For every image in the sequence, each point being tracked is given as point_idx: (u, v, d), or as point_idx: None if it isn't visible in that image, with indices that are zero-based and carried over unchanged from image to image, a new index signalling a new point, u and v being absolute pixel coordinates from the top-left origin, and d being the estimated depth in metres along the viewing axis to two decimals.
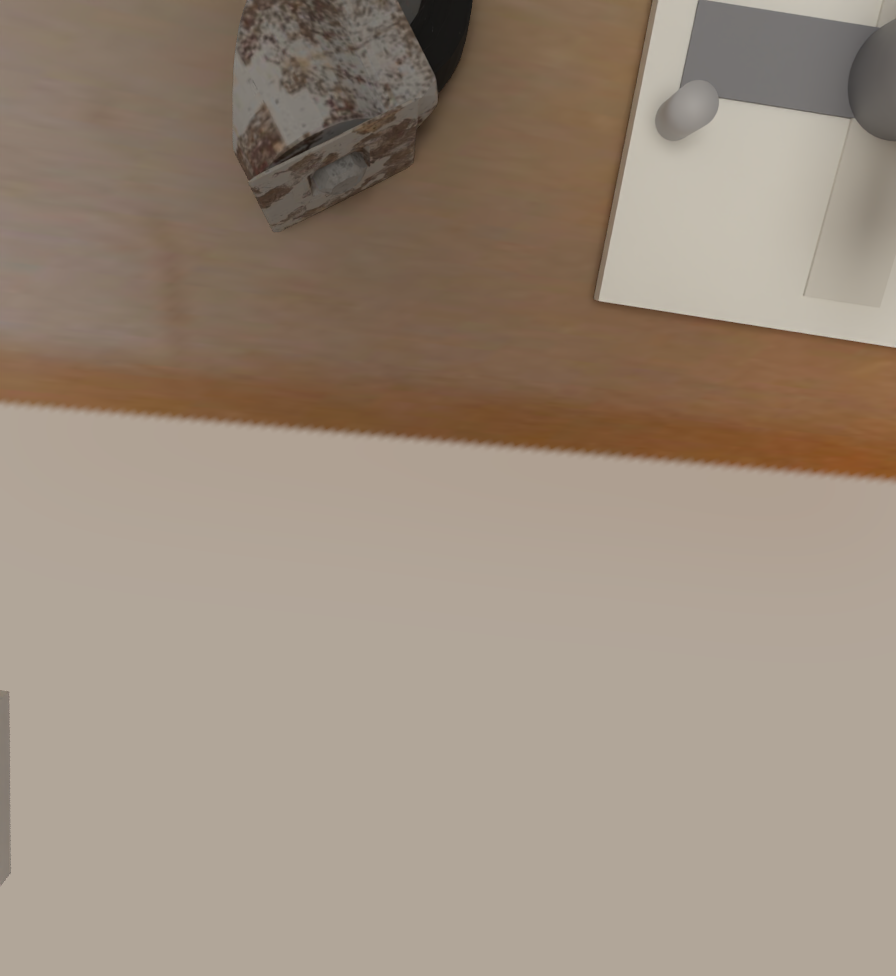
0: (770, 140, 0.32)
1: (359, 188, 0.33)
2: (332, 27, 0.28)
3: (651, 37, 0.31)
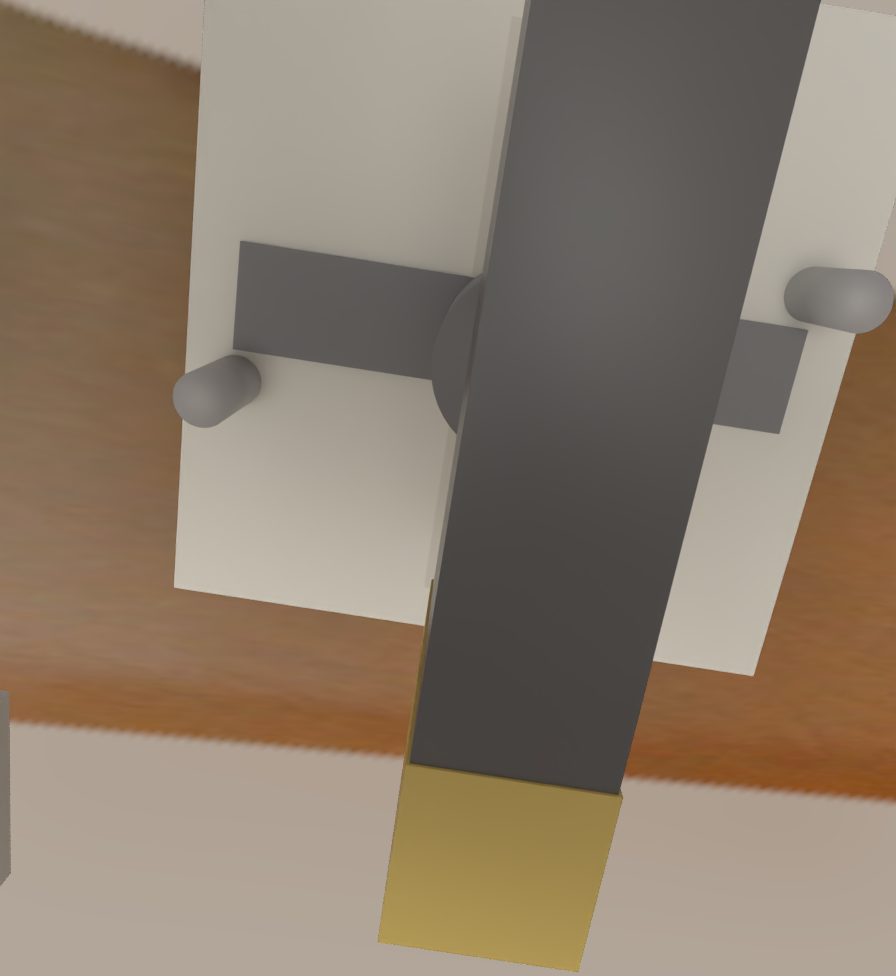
0: (358, 406, 0.25)
1: None
2: None
3: (191, 283, 0.24)
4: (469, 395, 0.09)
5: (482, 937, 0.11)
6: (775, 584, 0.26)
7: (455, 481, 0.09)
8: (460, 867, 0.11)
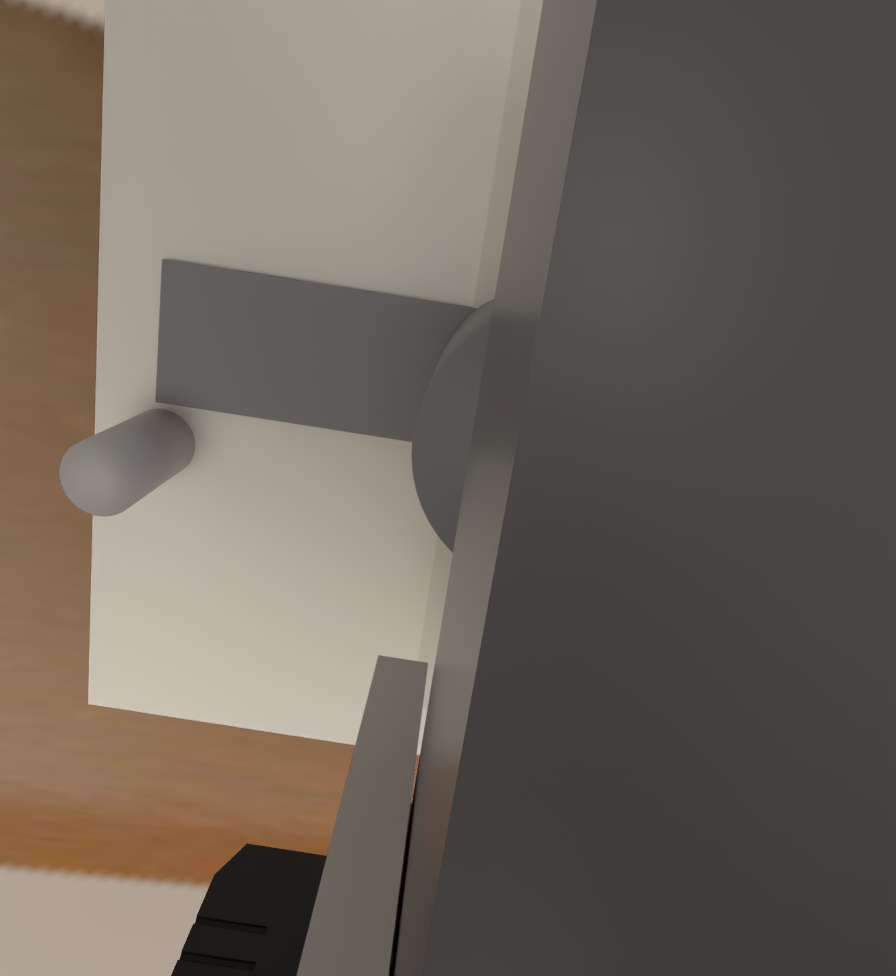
0: (323, 476, 0.19)
1: None
2: None
3: (100, 315, 0.18)
4: (463, 765, 0.03)
5: None
6: None
7: None
8: None
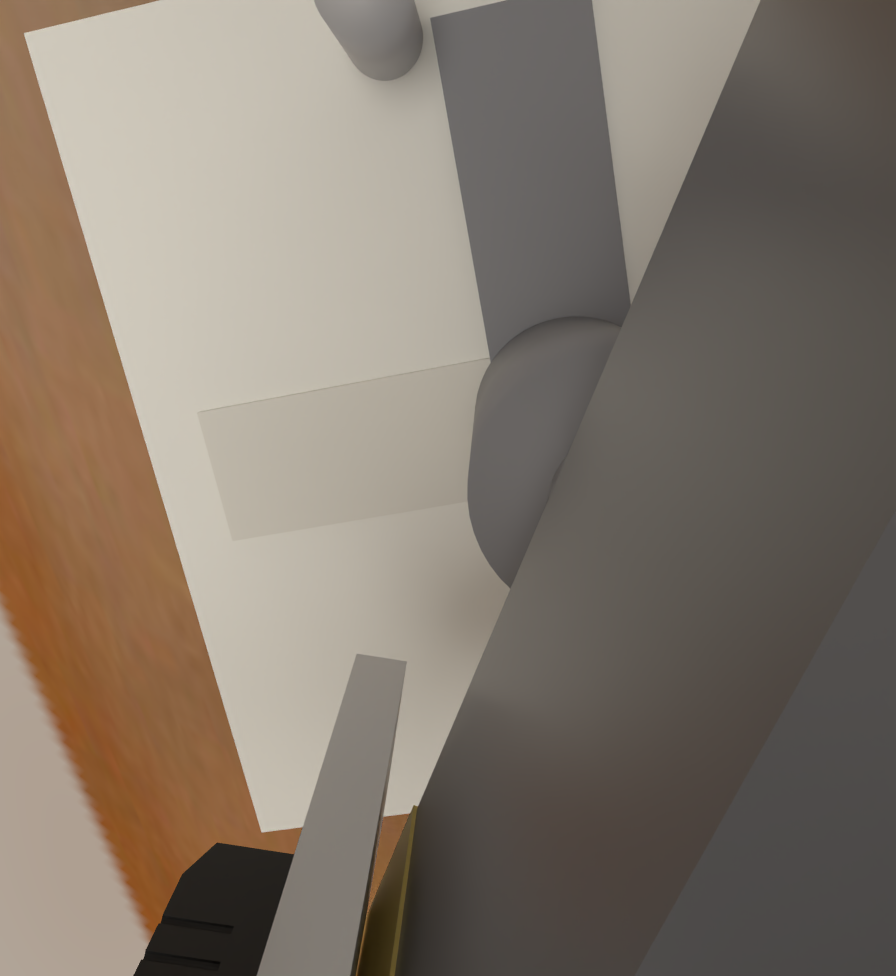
0: (411, 236, 0.17)
1: None
2: None
3: None
4: (724, 826, 0.03)
5: None
6: None
7: None
8: None
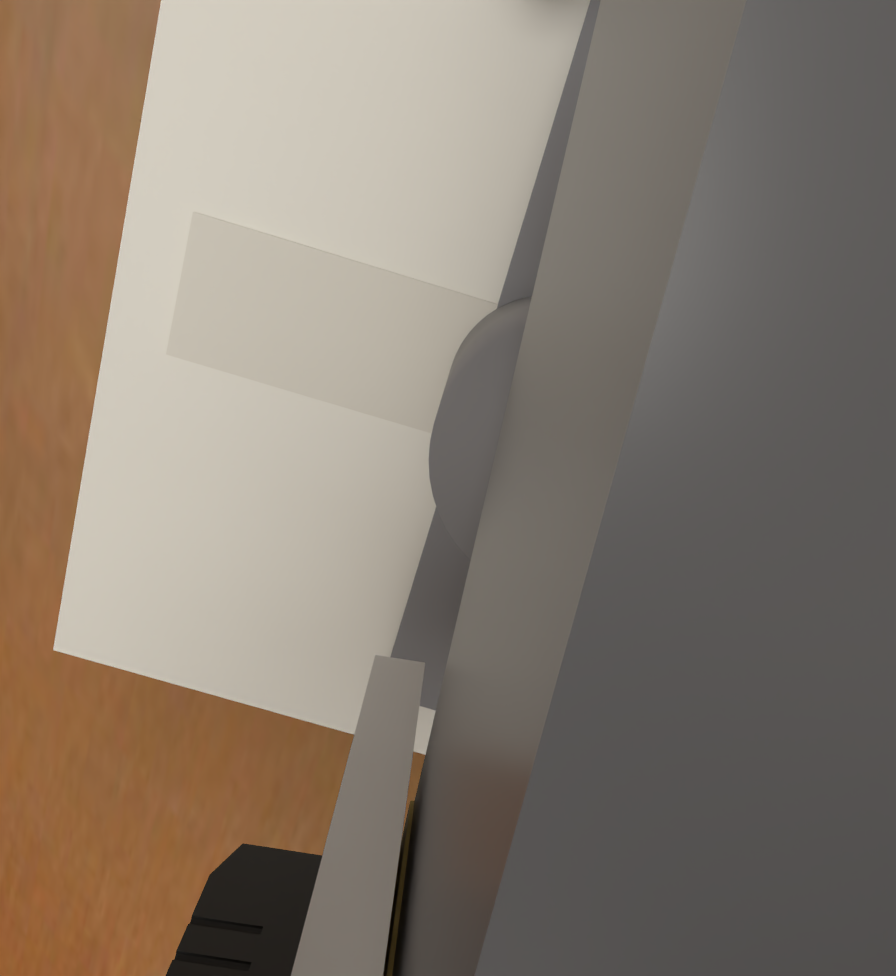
0: (483, 152, 0.17)
1: None
2: None
3: None
4: (537, 768, 0.03)
5: None
6: (182, 680, 0.21)
7: None
8: None
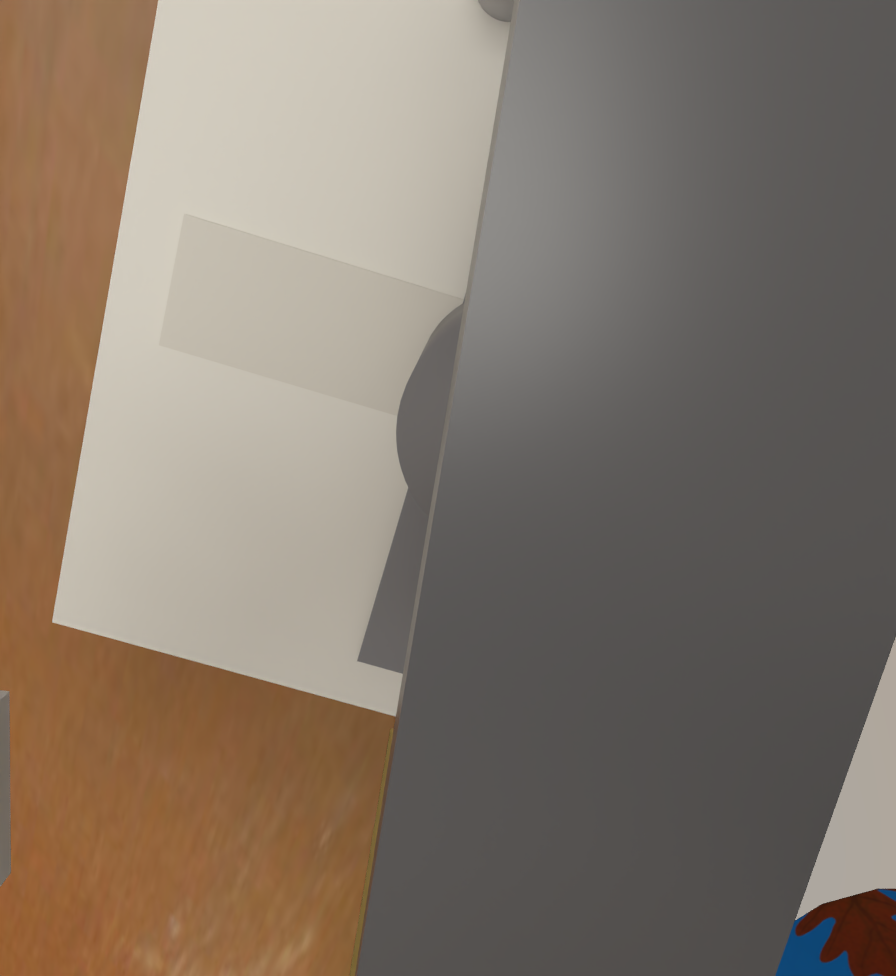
0: (449, 161, 0.18)
1: None
2: None
3: None
4: (424, 585, 0.05)
5: None
6: (174, 650, 0.22)
7: (398, 737, 0.05)
8: None
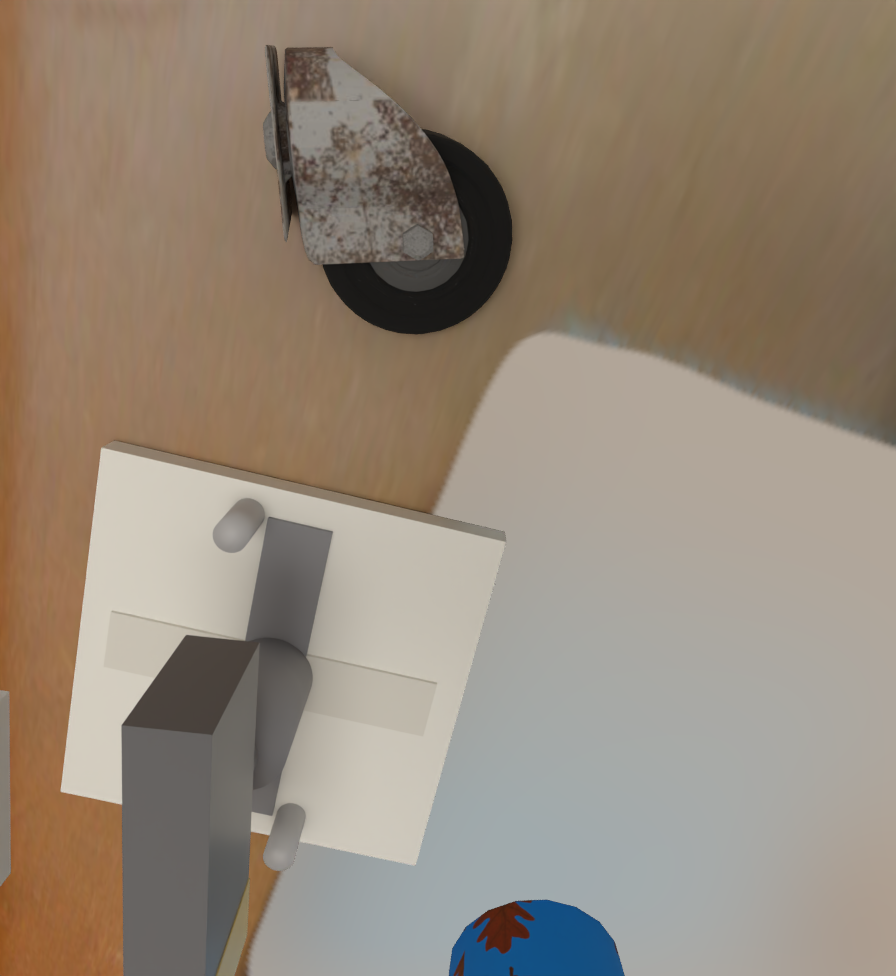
0: (231, 584, 0.40)
1: None
2: (384, 196, 0.32)
3: (309, 496, 0.38)
4: (123, 886, 0.26)
5: None
6: None
7: (123, 911, 0.26)
8: None
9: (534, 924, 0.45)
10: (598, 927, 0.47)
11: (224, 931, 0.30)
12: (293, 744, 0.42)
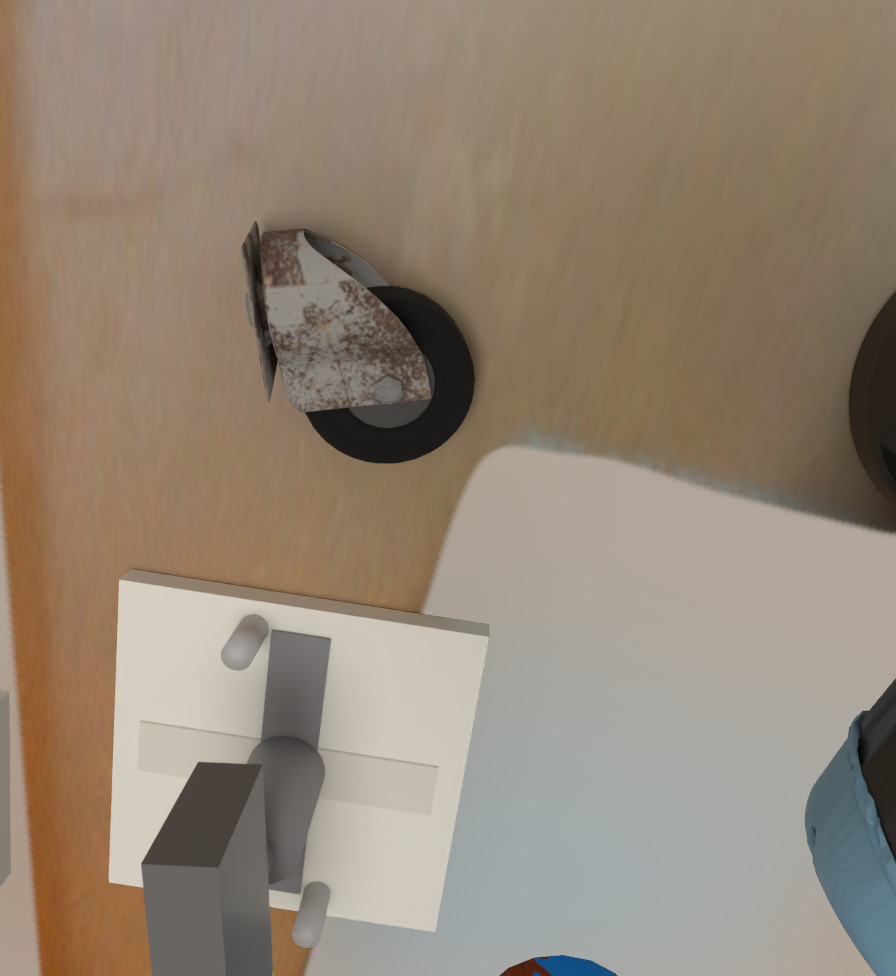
0: (244, 690, 0.44)
1: None
2: (355, 354, 0.35)
3: (307, 608, 0.42)
4: None
5: None
6: None
7: None
8: None
9: None
10: None
11: None
12: (313, 828, 0.46)
